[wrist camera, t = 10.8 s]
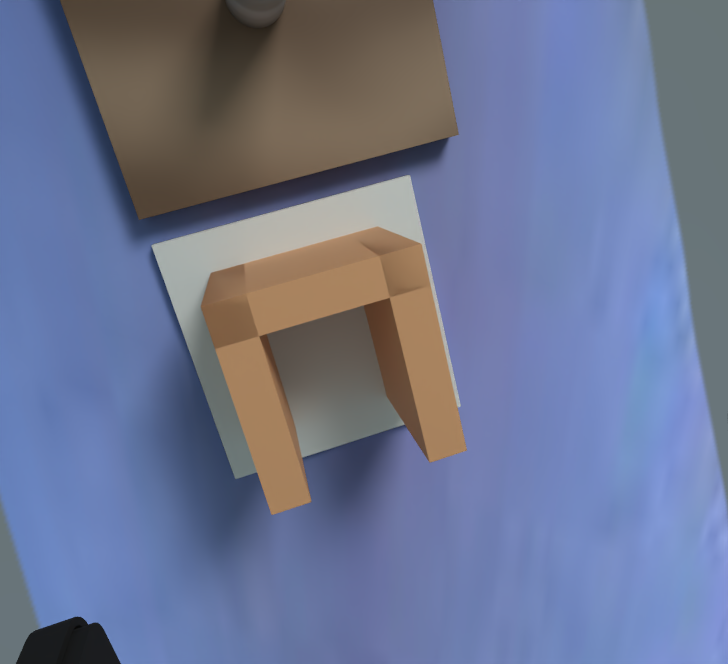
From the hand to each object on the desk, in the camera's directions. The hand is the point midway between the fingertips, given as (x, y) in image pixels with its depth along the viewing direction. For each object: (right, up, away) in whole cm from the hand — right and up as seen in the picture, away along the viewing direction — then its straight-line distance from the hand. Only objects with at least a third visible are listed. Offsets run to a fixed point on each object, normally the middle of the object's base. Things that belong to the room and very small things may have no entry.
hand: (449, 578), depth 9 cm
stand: (-5, +15, +12) cm, 20 cm away
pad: (-3, +4, +16) cm, 17 cm away
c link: (-3, +3, +15) cm, 16 cm away
